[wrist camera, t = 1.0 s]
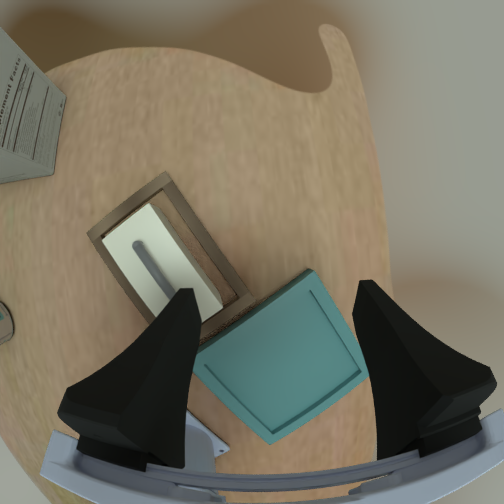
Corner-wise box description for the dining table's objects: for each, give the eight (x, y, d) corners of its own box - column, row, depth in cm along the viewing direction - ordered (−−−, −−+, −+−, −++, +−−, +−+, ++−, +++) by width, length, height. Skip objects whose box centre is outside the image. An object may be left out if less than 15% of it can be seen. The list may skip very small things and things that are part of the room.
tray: (266, 436, 26) (269, 445, 25) (185, 355, 24) (184, 362, 23) (367, 365, 28) (374, 371, 26) (308, 268, 25) (314, 270, 24)
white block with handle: (180, 319, 24) (173, 347, 18) (121, 238, 23) (95, 240, 17) (219, 292, 24) (224, 312, 18) (160, 208, 23) (145, 201, 17)
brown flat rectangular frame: (176, 351, 24) (175, 355, 23) (90, 232, 22) (86, 233, 21) (254, 297, 25) (256, 300, 24) (167, 173, 23) (165, 170, 22)
